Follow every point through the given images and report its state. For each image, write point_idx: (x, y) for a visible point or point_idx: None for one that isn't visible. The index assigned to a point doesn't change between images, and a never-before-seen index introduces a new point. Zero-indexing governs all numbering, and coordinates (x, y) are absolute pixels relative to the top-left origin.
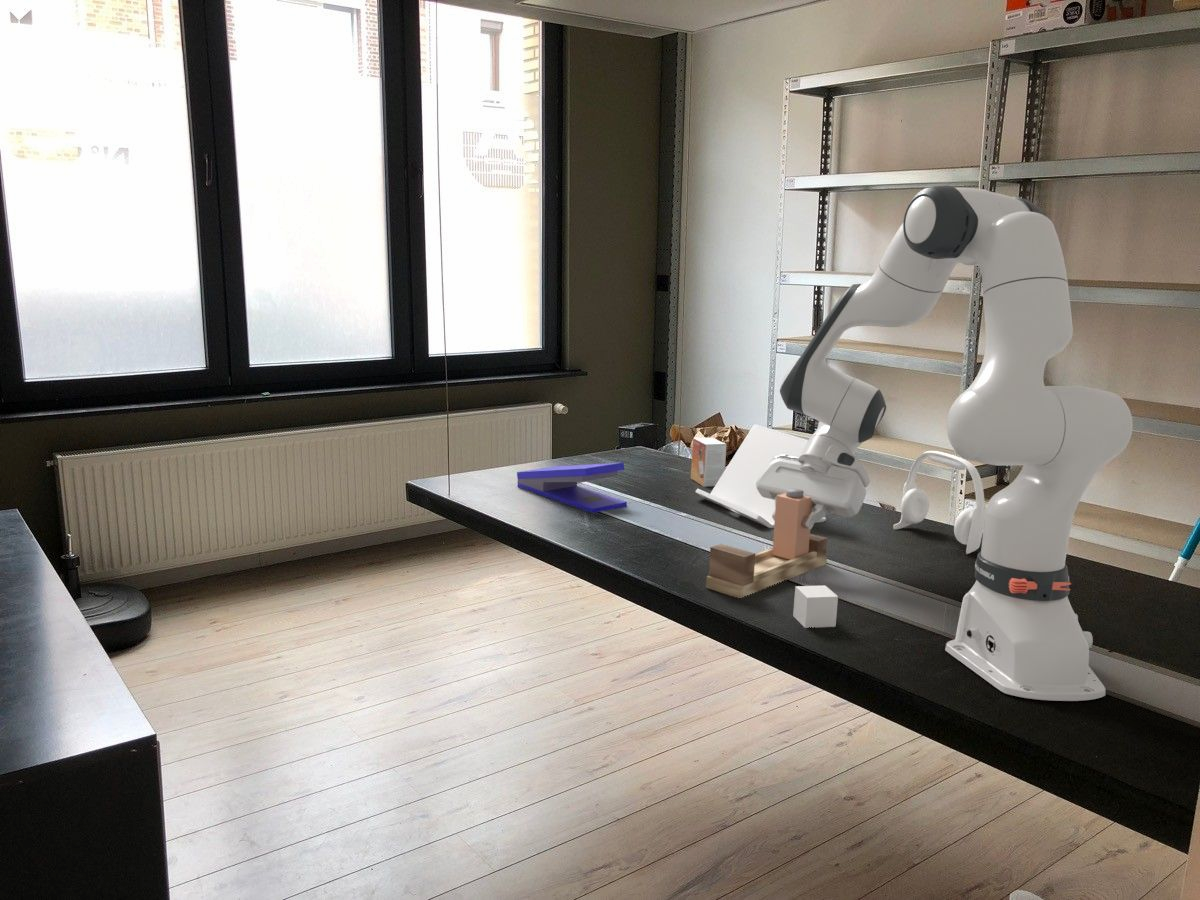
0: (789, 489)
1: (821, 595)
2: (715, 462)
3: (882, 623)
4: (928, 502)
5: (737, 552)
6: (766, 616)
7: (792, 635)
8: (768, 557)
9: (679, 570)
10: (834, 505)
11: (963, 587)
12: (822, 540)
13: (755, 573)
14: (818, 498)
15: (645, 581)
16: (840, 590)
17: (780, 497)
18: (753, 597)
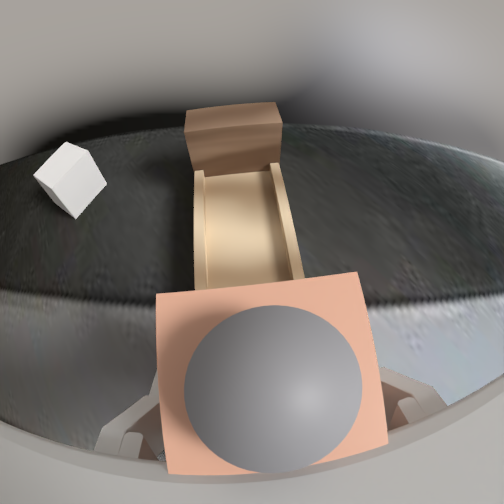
0: (340, 375)
1: (51, 159)
2: None
3: (15, 260)
4: None
5: (215, 114)
6: (134, 156)
7: (89, 149)
8: None
9: (365, 181)
10: (24, 432)
11: None
12: None
13: (201, 182)
14: (105, 465)
15: (339, 126)
16: (92, 342)
17: (322, 279)
18: (188, 184)
